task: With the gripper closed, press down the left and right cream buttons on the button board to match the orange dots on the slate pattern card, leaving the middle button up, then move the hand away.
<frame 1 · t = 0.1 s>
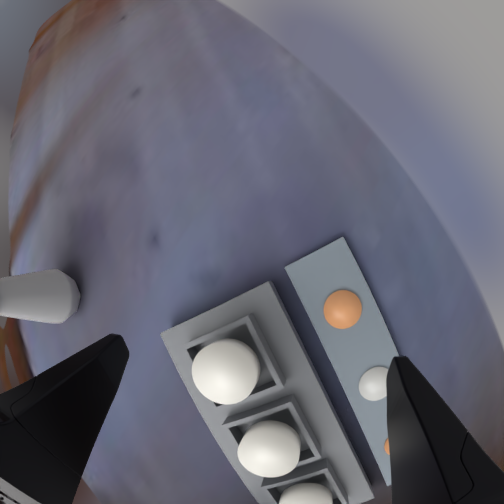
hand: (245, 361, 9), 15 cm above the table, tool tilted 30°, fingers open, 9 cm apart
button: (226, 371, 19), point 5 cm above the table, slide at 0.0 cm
salt shaker: (70, 296, 28), on the table
button middle: (269, 449, 18), point 5 cm above the table, slide at 0.0 cm
pattern card: (375, 381, 21), on the table
button board: (277, 423, 22), on the table
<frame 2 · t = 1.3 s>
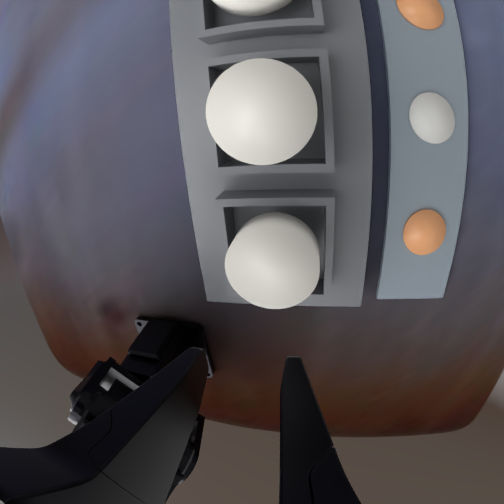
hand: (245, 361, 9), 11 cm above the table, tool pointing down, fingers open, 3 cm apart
button middle: (263, 111, 11), point 4 cm above the table, slide at 0.0 cm
pattern card: (428, 117, 13), on the table
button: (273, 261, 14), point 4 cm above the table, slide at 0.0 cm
button board: (276, 111, 15), on the table
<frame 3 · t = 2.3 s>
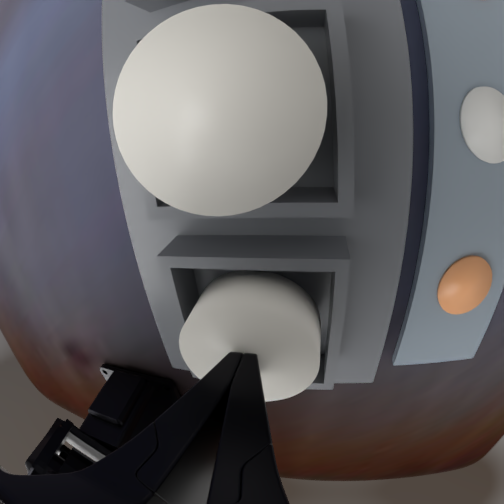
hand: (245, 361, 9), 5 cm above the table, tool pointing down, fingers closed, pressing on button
button middle: (220, 107, 6), point 4 cm above the table, slide at 0.0 cm
pattern card: (483, 123, 8), on the table
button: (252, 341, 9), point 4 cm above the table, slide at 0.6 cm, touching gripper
button board: (257, 109, 10), on the table
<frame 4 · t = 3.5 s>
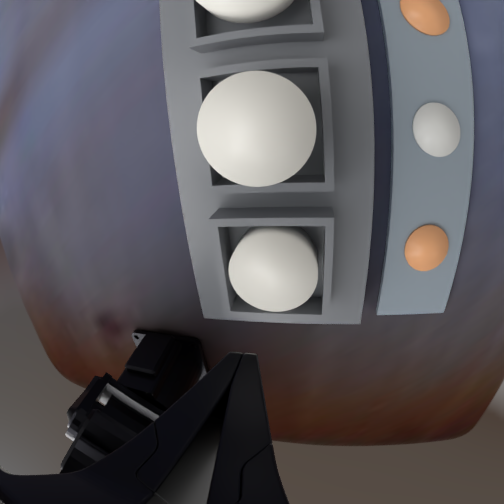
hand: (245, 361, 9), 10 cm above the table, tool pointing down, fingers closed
button middle: (258, 127, 11), point 4 cm above the table, slide at 0.0 cm
pattern card: (433, 128, 13), on the table
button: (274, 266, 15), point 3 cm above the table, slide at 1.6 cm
button board: (273, 123, 15), on the table
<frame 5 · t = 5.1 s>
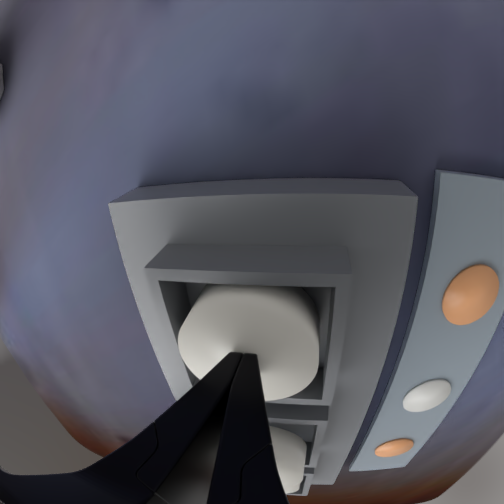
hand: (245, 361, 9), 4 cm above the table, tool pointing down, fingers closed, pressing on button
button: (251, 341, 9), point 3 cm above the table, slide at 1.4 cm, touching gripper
button middle: (258, 459, 11), point 5 cm above the table, slide at 0.0 cm
pattern card: (425, 388, 13), on the table
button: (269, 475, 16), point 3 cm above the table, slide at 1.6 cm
button board: (272, 390, 15), on the table
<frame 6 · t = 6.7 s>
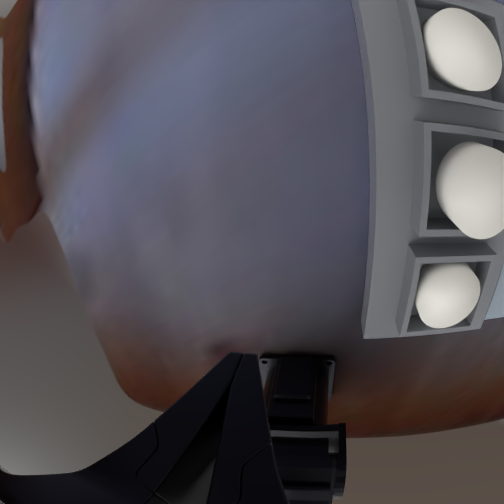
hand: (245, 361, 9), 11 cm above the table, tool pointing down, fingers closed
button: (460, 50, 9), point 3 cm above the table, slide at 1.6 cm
button middle: (479, 189, 11), point 5 cm above the table, slide at 0.0 cm
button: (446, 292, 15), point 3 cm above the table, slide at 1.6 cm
button board: (444, 168, 14), on the table
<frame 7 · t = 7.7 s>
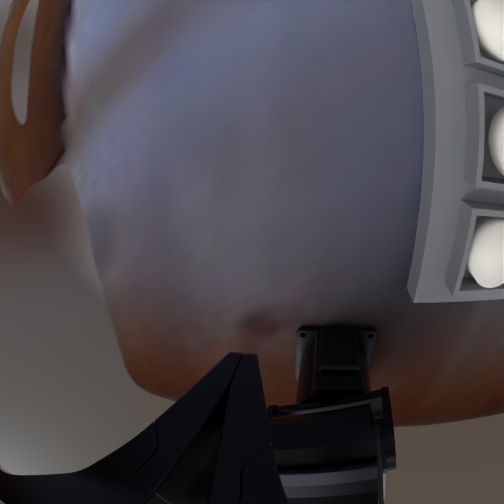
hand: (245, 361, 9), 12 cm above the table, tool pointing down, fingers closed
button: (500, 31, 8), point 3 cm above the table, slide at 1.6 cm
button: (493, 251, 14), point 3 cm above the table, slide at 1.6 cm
button board: (485, 135, 13), on the table
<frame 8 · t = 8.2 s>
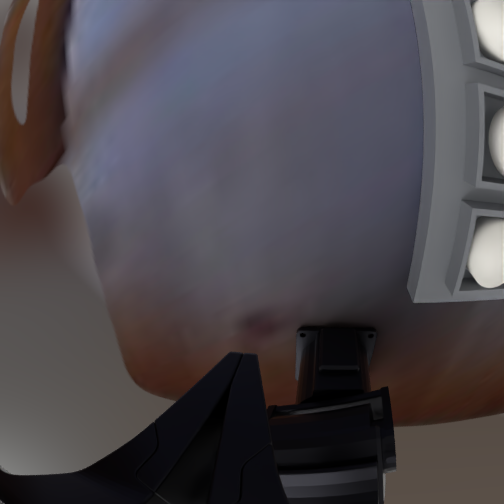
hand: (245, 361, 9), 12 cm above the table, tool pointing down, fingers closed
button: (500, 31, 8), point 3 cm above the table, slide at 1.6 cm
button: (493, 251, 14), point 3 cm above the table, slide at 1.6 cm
button board: (485, 135, 13), on the table
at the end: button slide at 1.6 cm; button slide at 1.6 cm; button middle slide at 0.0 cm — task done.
